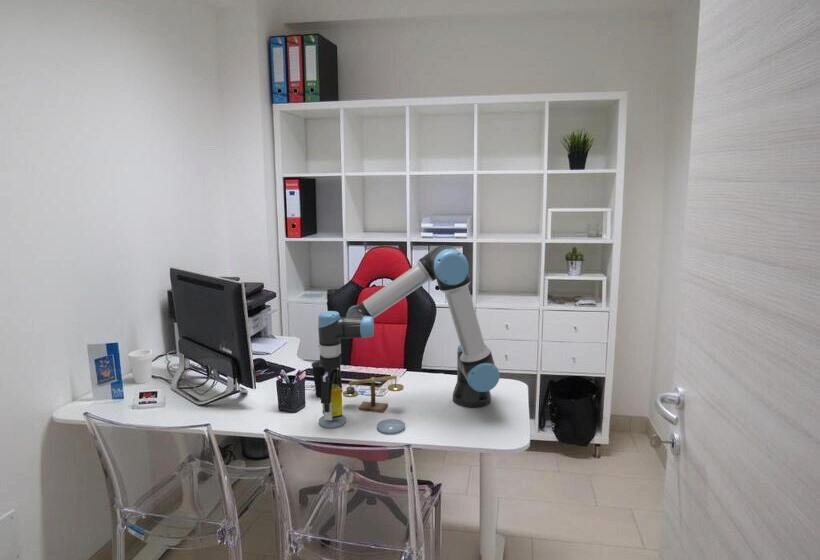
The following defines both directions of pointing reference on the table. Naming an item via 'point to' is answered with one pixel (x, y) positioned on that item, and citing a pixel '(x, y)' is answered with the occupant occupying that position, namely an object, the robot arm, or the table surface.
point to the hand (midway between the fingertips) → (332, 414)
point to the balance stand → (373, 403)
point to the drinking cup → (317, 376)
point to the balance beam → (392, 387)
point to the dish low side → (332, 422)
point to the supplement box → (336, 401)
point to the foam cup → (141, 365)
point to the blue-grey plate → (391, 426)
